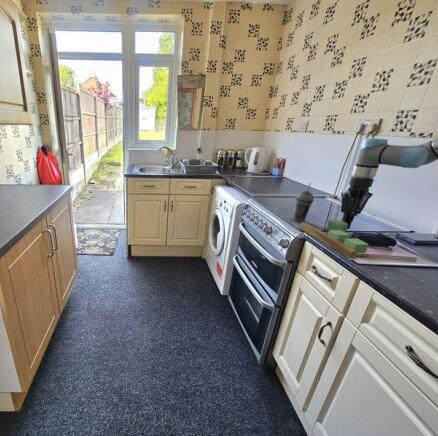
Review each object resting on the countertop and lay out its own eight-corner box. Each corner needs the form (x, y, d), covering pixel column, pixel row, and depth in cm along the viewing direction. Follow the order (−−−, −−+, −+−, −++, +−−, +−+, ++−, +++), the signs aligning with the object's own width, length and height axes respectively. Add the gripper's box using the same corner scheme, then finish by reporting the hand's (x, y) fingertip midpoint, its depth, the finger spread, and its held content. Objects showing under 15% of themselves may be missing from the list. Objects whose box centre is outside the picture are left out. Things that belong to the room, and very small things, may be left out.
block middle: (336, 240, 104) (340, 229, 102) (346, 246, 100) (350, 235, 98) (325, 240, 104) (329, 230, 102) (334, 246, 99) (338, 235, 97)
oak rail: (303, 228, 116) (305, 222, 115) (354, 258, 90) (357, 251, 89) (299, 228, 116) (301, 222, 115) (349, 258, 90) (352, 251, 89)
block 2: (353, 249, 97) (357, 238, 95) (364, 256, 92) (368, 244, 90) (341, 250, 96) (345, 238, 94) (351, 256, 92) (356, 244, 90)
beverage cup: (303, 219, 128) (314, 181, 120) (309, 224, 121) (321, 184, 114) (288, 217, 129) (298, 180, 122) (293, 222, 122) (304, 183, 115)
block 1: (336, 229, 115) (339, 219, 113) (344, 234, 111) (348, 224, 109) (326, 230, 115) (329, 220, 113) (334, 234, 110) (337, 224, 108)
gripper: (368, 175, 108) (351, 224, 116) (341, 174, 107) (325, 224, 115) (385, 178, 101) (365, 231, 109) (356, 178, 100) (338, 231, 108)
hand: (345, 227), depth 112 cm, fingers closed
